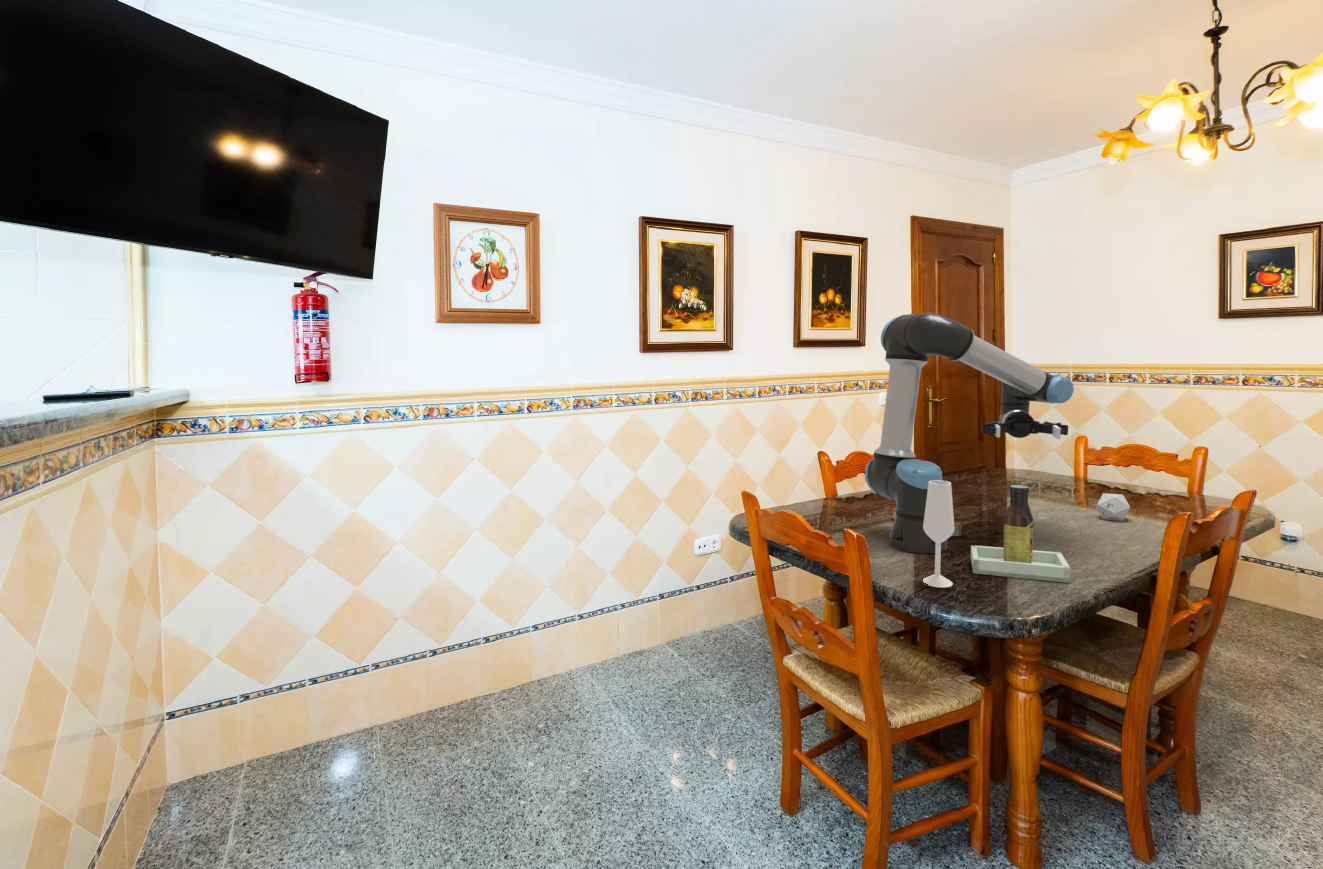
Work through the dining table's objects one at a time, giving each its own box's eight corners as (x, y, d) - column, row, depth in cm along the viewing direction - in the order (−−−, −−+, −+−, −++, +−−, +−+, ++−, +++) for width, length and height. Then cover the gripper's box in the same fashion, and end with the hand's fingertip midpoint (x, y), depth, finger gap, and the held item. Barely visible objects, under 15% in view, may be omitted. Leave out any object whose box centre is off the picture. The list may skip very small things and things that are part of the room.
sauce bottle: (1036, 570, 149) (1039, 489, 147) (1007, 569, 150) (1011, 489, 148) (1026, 561, 155) (1029, 483, 153) (998, 560, 157) (1001, 483, 154)
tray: (972, 573, 152) (973, 559, 151) (970, 558, 162) (970, 545, 162) (1069, 583, 144) (1070, 568, 143) (1060, 566, 154) (1060, 552, 154)
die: (1088, 517, 198) (1091, 498, 192) (1106, 502, 200) (1110, 482, 194) (1115, 531, 192) (1119, 512, 186) (1133, 516, 194) (1138, 496, 188)
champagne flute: (915, 579, 149) (917, 481, 145) (937, 575, 151) (940, 478, 148) (936, 589, 142) (939, 486, 139) (959, 584, 145) (962, 483, 142)
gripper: (1068, 437, 177) (1084, 448, 157) (970, 435, 187) (974, 445, 167) (1069, 411, 176) (1085, 419, 156) (971, 410, 186) (975, 418, 166)
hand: (1028, 432), depth 162 cm, fingers open, 13 cm apart
